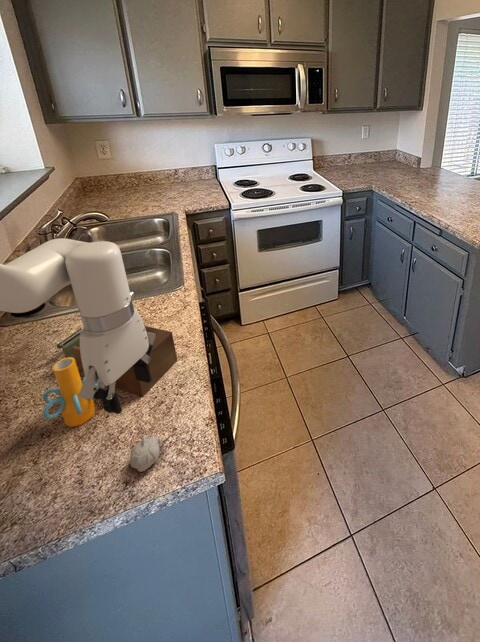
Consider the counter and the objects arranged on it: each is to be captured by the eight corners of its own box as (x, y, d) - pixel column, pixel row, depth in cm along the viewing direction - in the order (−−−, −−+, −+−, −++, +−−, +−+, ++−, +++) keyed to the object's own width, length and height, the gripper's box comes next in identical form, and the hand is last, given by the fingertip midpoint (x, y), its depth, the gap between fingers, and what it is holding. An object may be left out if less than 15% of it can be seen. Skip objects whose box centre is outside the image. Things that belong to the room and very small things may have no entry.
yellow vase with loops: (117, 393, 88) (104, 343, 83) (100, 431, 78) (83, 378, 73) (63, 401, 86) (46, 350, 81) (38, 441, 76) (17, 386, 71)
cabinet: (97, 383, 91) (88, 353, 88) (135, 350, 102) (128, 322, 99) (143, 396, 87) (135, 365, 84) (177, 360, 98) (172, 331, 95)
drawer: (53, 366, 96) (45, 342, 93) (91, 339, 106) (84, 316, 103) (109, 382, 90) (102, 357, 88) (143, 351, 101) (138, 328, 98)
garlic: (143, 445, 75) (138, 427, 73) (167, 448, 74) (163, 429, 73) (125, 475, 69) (119, 456, 68) (151, 478, 69) (146, 458, 67)
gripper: (130, 284, 69) (147, 358, 75) (40, 343, 53) (71, 430, 59) (162, 289, 67) (177, 365, 73) (78, 353, 51) (106, 442, 57)
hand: (129, 394), depth 66 cm, fingers open, 6 cm apart
